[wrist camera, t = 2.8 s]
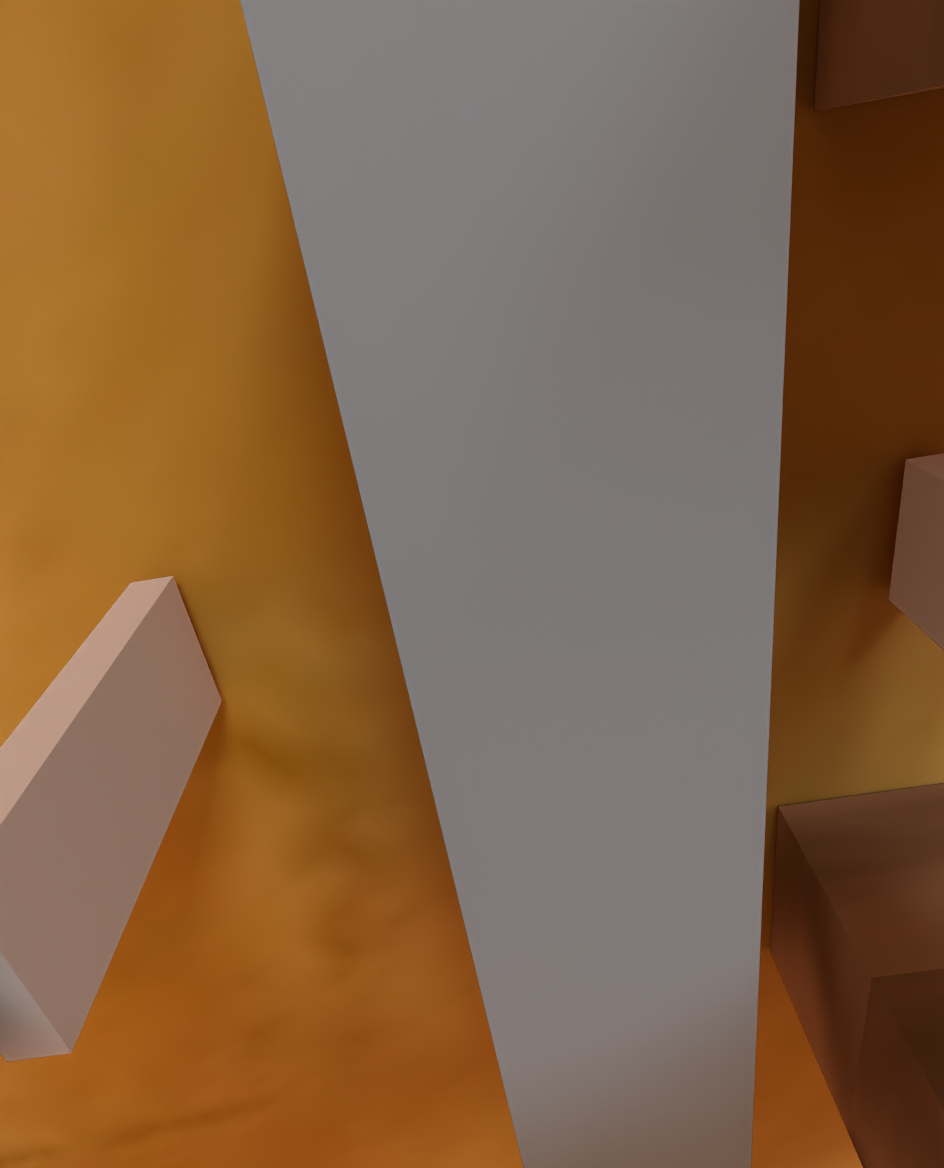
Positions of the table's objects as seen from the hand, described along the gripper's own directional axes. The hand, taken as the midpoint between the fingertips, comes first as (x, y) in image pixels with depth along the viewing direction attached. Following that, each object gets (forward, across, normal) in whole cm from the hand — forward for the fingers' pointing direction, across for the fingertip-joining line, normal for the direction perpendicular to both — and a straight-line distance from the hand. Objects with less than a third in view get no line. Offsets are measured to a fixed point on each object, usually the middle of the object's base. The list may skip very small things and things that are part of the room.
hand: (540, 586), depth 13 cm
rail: (0, 0, 0) cm, 0 cm away
